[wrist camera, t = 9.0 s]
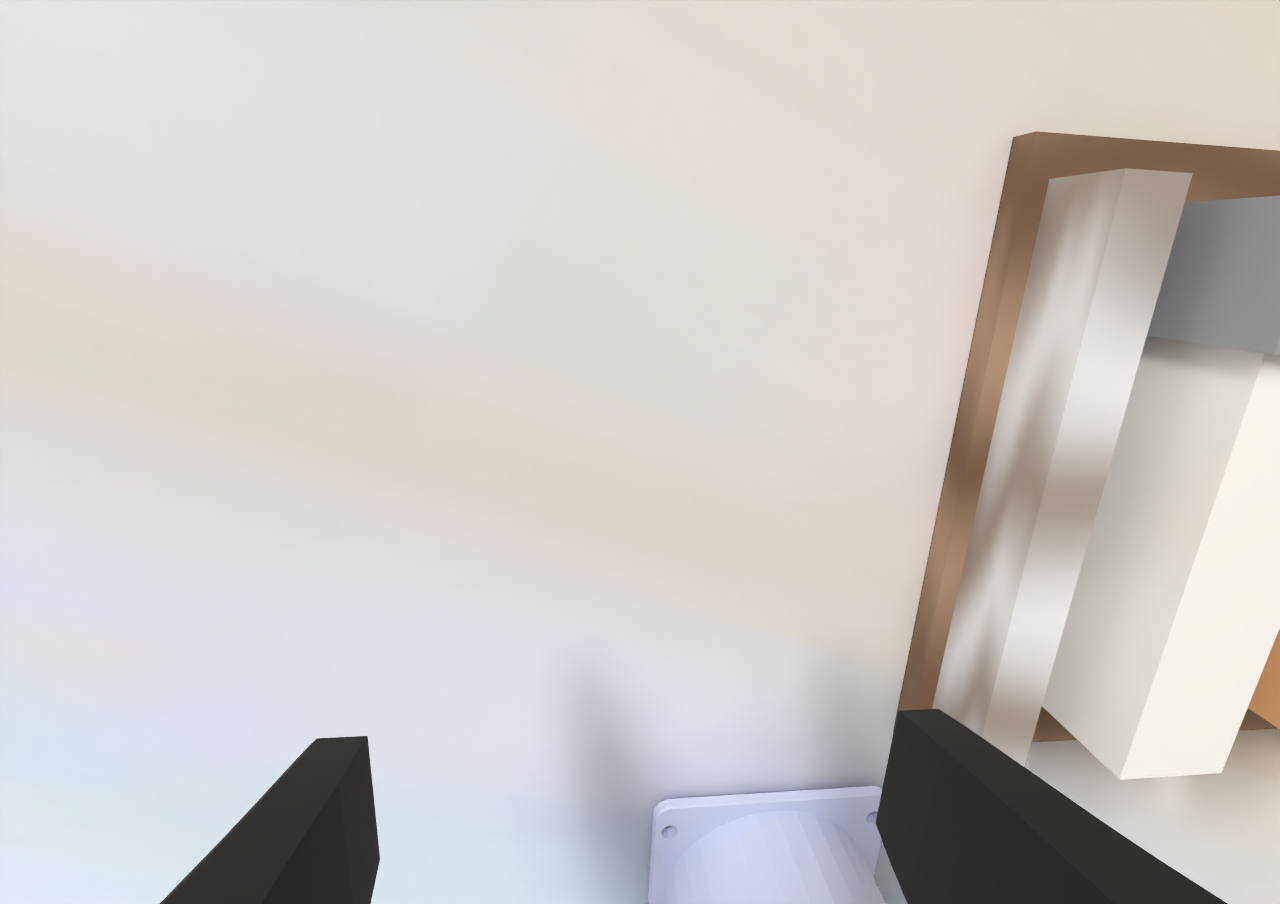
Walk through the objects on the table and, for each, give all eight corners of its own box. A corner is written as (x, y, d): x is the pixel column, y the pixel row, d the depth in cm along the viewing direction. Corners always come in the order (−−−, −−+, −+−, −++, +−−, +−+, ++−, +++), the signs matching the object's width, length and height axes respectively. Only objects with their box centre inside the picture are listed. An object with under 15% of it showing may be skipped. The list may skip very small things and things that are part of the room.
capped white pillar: (1107, 675, 21) (1246, 784, 16) (1005, 679, 20) (1121, 793, 16) (1253, 214, 16) (1490, 203, 12) (1128, 206, 16) (1330, 192, 12)
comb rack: (1304, 709, 23) (1407, 773, 20) (893, 730, 21) (945, 806, 18) (1535, 177, 18) (1720, 164, 15) (1014, 137, 16) (1113, 113, 13)
